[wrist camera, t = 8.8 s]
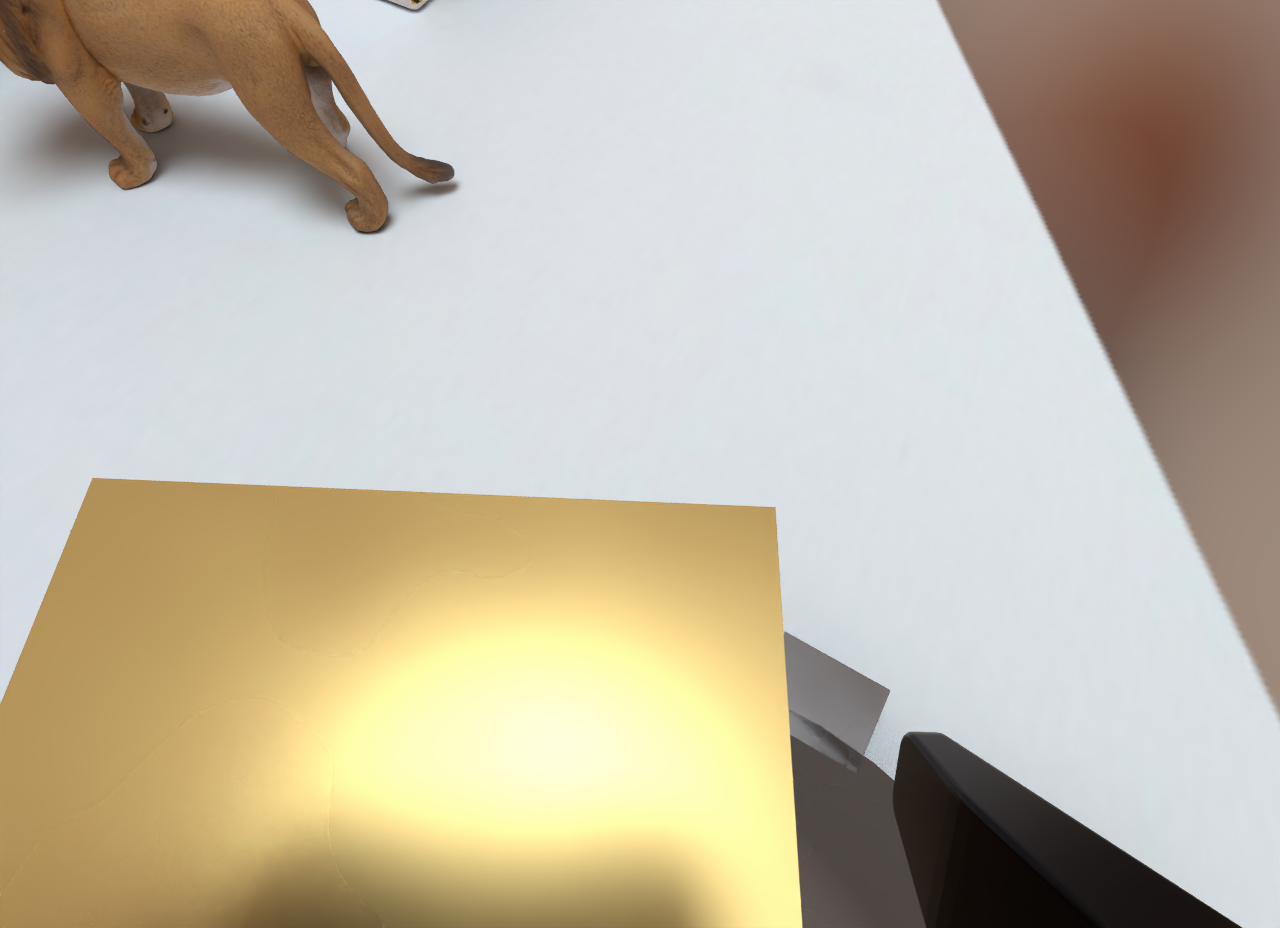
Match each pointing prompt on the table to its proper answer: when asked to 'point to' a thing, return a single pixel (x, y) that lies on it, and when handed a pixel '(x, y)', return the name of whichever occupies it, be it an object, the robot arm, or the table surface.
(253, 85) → the lion figurine
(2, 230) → the table surface
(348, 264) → the table surface
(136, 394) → the table surface
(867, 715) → the sprocket plate
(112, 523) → the gold-topped wooden block
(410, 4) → the medicine bottle
